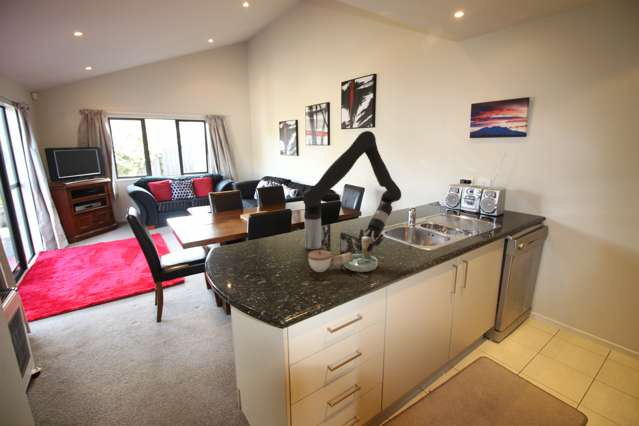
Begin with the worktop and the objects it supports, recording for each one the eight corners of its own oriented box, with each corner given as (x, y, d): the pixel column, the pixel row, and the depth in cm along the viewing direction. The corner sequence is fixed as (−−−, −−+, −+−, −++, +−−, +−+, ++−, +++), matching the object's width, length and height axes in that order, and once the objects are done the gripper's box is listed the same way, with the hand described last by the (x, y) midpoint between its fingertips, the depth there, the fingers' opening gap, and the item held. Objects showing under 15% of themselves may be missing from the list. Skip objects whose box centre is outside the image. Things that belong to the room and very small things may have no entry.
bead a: (362, 259, 147) (363, 239, 145) (360, 255, 152) (361, 236, 149) (371, 258, 148) (372, 238, 145) (369, 255, 152) (369, 236, 150)
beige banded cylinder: (352, 258, 146) (332, 264, 146) (350, 250, 144) (329, 256, 144) (354, 262, 141) (333, 268, 141) (351, 254, 140) (331, 260, 140)
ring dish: (347, 272, 139) (347, 266, 138) (341, 259, 154) (341, 254, 154) (381, 270, 140) (381, 264, 139) (372, 257, 156) (372, 252, 155)
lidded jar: (323, 276, 136) (323, 256, 133) (304, 271, 141) (303, 252, 139) (335, 267, 144) (335, 249, 142) (316, 263, 150) (316, 245, 148)
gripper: (364, 215, 155) (349, 243, 150) (387, 219, 146) (372, 250, 140) (370, 223, 160) (355, 250, 155) (393, 227, 150) (379, 257, 145)
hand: (364, 250), depth 147 cm, fingers closed on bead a, 4 cm apart
